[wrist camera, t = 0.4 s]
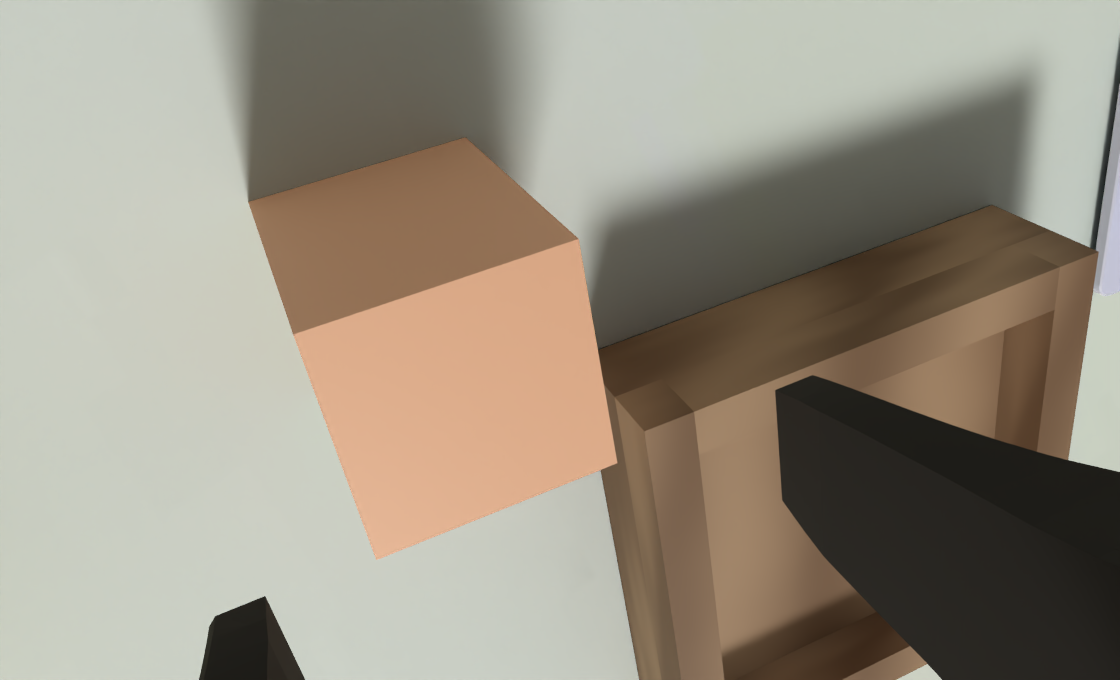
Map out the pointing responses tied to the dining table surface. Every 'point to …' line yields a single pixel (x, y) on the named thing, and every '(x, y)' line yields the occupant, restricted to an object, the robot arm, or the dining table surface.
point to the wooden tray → (753, 450)
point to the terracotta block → (440, 338)
